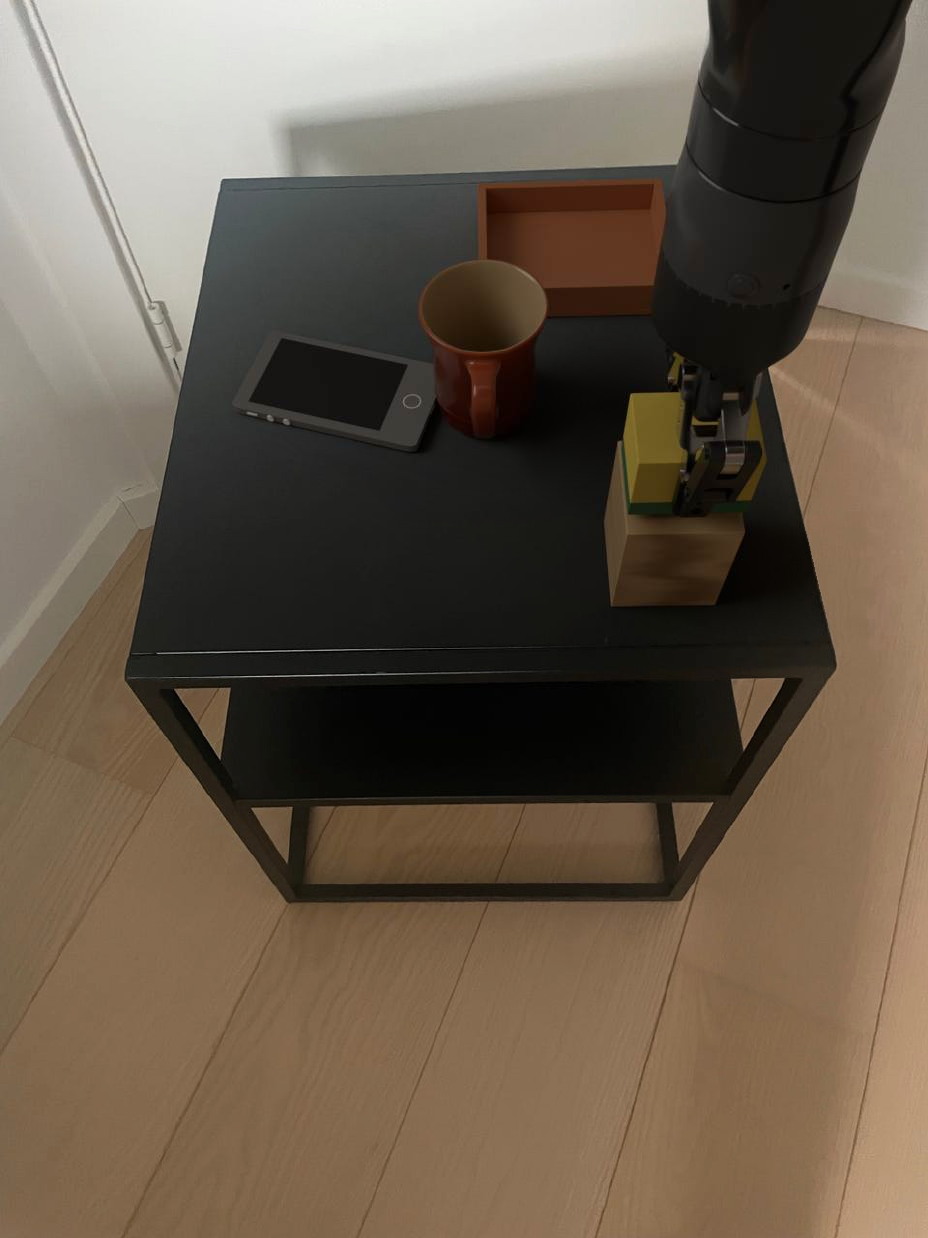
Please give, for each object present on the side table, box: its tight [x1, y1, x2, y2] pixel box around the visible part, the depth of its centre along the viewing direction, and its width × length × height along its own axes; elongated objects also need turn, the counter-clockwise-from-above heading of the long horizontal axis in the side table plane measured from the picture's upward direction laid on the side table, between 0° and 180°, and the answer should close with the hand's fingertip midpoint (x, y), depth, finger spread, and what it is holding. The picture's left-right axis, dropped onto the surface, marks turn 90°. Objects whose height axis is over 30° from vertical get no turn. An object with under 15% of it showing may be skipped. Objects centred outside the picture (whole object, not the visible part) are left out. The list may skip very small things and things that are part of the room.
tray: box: [477, 177, 667, 318], centre depth 79 cm, size 15×12×3 cm
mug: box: [417, 258, 549, 440], centre depth 68 cm, size 12×9×10 cm
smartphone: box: [231, 330, 438, 453], centre depth 74 cm, size 15×8×1 cm, turn 73°
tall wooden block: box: [603, 440, 746, 608], centre depth 62 cm, size 7×7×9 cm
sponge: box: [621, 391, 768, 515], centre depth 55 cm, size 7×5×5 cm
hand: (684, 470), depth 57 cm, fingers closed on sponge, 5 cm apart
